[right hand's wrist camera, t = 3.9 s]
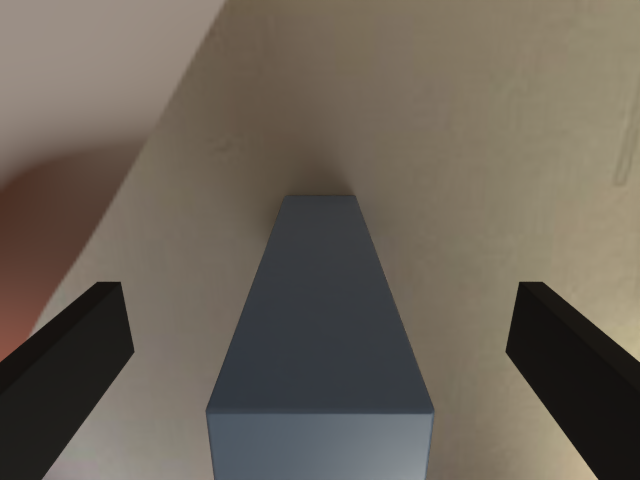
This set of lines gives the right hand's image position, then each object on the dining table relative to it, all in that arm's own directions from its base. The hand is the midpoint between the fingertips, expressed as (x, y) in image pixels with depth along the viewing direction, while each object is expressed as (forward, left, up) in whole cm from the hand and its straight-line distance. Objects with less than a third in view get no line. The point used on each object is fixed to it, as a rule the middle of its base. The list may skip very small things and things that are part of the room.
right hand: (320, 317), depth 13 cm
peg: (0, 0, -10) cm, 10 cm away
